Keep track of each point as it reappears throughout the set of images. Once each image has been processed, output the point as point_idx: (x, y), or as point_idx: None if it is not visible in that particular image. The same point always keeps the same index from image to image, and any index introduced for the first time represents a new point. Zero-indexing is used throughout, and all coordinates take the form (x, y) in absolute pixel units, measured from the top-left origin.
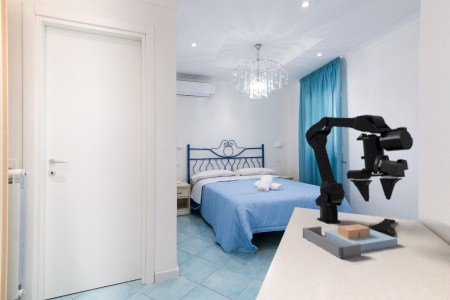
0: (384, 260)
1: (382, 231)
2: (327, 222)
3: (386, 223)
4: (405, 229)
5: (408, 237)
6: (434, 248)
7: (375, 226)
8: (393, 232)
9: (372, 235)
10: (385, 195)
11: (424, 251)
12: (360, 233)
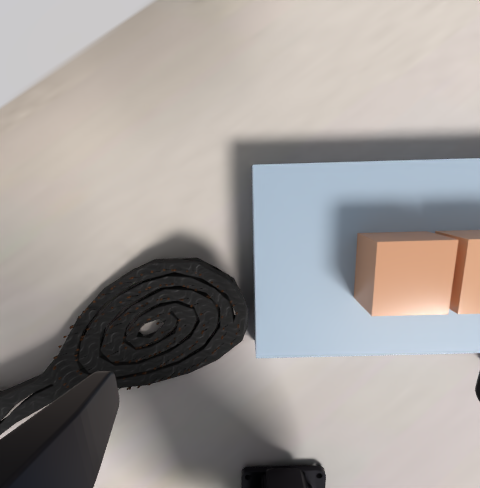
0: (473, 52)
1: (221, 271)
2: (324, 472)
3: (61, 373)
4: (7, 311)
5: (98, 226)
6: (111, 84)
7: (135, 372)
8: (128, 281)
9: (335, 236)
10: (97, 459)
11: (196, 72)
12: (437, 234)
